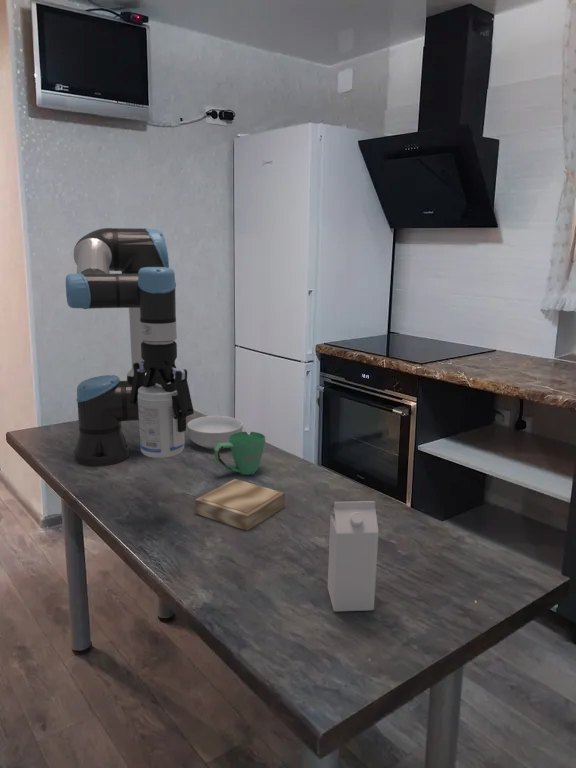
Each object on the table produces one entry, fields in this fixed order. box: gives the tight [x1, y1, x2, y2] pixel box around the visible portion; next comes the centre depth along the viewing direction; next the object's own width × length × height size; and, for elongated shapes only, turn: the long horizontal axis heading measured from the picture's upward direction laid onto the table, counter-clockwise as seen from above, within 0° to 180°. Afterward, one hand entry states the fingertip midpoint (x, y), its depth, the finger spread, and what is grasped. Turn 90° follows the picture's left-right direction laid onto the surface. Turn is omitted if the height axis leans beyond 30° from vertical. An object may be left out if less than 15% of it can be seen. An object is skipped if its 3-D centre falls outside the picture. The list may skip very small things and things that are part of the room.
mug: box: [213, 431, 266, 476], centre depth 163 cm, size 15×10×10 cm
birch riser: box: [194, 478, 286, 532], centre depth 142 cm, size 15×15×4 cm
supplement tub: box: [138, 383, 185, 459], centre depth 132 cm, size 10×10×15 cm
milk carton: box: [327, 500, 379, 612], centre depth 105 cm, size 7×7×19 cm
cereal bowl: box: [186, 415, 244, 450], centre depth 185 cm, size 17×17×7 cm
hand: (161, 440), depth 134 cm, fingers closed on supplement tub, 9 cm apart
